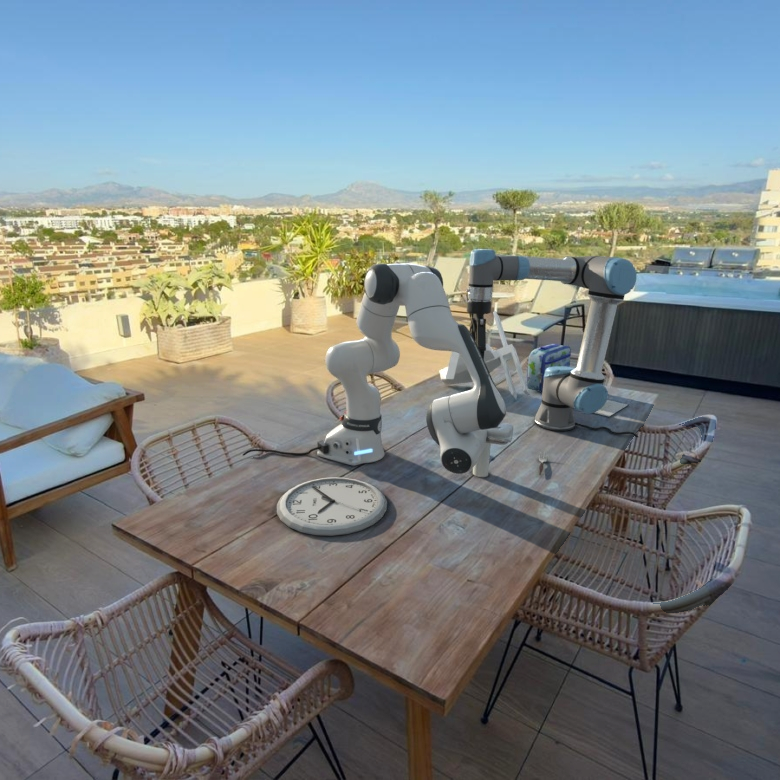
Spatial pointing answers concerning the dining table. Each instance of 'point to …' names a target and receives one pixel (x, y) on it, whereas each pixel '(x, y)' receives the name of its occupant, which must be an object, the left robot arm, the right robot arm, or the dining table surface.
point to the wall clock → (331, 506)
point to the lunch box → (545, 363)
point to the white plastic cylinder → (483, 462)
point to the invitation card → (610, 408)
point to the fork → (542, 461)
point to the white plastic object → (492, 359)
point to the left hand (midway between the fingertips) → (478, 419)
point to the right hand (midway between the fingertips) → (475, 365)
